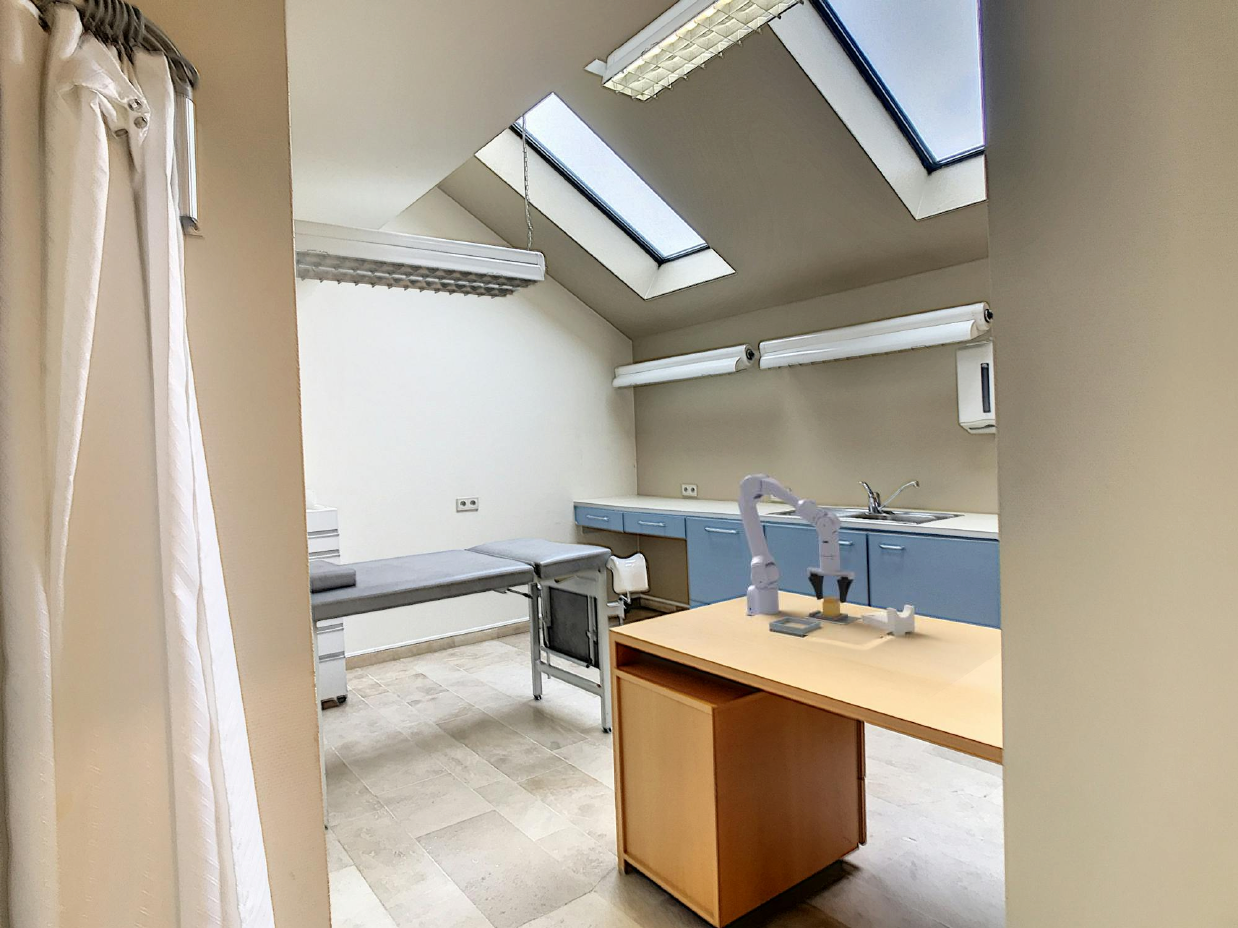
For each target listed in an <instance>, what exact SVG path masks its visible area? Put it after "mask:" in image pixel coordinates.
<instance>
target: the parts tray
mask: <svg viewBox="0 0 1238 928" xmlns="http://www.w3.org/2000/svg"><path fill="white" fill-rule="evenodd" d="M787 622H789V623H794V624H799V625H805V626H804V627H798V626H793V625H786V624H785V623H787ZM768 624H769V628H768V629H769V632H773V633H776V634H782V635H788V636H793V637H796V638H797V637H798V638H806V637H808V636H810V635H809V634H805V633H809V632H810V631H814V630H816V629H819V628H821V621H817V620H811V619H805V618H797V617H792V616H785V617H781V618H778V619H776V620H772V621H770V622H769V623H768Z"/></svg>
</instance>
